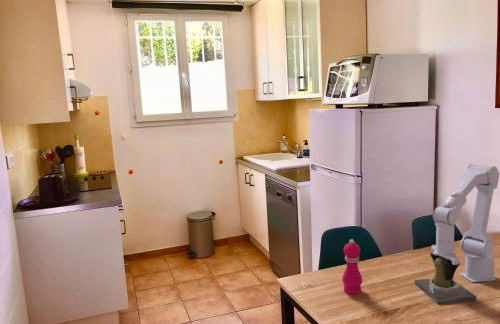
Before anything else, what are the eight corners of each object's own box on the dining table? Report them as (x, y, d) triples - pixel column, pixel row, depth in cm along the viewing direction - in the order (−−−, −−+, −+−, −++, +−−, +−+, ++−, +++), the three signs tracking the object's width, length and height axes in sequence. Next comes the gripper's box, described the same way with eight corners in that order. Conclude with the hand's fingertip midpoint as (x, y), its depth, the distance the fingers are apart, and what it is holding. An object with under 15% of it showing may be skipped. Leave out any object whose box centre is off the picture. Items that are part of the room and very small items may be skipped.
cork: (453, 291, 141) (454, 262, 140) (435, 291, 142) (436, 261, 141) (448, 284, 147) (448, 255, 146) (430, 283, 148) (431, 255, 147)
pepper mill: (363, 287, 151) (362, 236, 148) (361, 296, 144) (361, 243, 142) (343, 285, 153) (342, 235, 151) (341, 294, 147) (340, 242, 144)
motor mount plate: (449, 280, 153) (449, 272, 153) (476, 300, 138) (476, 290, 137) (414, 283, 152) (414, 274, 152) (437, 303, 137) (437, 294, 136)
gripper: (423, 234, 149) (423, 269, 151) (445, 247, 135) (444, 285, 137) (441, 233, 150) (441, 267, 152) (465, 246, 136) (464, 284, 137)
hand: (444, 276), depth 144 cm, fingers open, 6 cm apart
